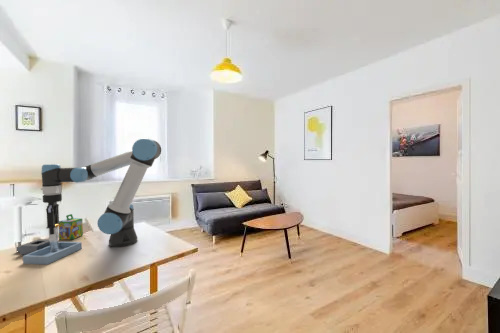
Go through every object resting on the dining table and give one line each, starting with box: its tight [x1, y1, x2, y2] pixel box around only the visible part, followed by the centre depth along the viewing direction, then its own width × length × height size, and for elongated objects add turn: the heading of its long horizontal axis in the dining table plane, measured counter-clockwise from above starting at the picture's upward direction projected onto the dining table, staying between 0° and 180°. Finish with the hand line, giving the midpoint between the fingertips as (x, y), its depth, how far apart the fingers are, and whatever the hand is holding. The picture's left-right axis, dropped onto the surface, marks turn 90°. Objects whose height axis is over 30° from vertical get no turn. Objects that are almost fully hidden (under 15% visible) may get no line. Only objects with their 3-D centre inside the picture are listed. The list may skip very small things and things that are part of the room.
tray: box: [22, 241, 83, 265], centre depth 124 cm, size 20×13×4 cm, turn 173°
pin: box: [50, 224, 59, 253], centre depth 123 cm, size 5×5×14 cm
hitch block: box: [15, 238, 50, 256], centre depth 129 cm, size 10×16×5 cm, turn 83°
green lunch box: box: [58, 213, 84, 241], centre depth 152 cm, size 9×9×15 cm
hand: (54, 238), depth 123 cm, fingers closed on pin, 5 cm apart
